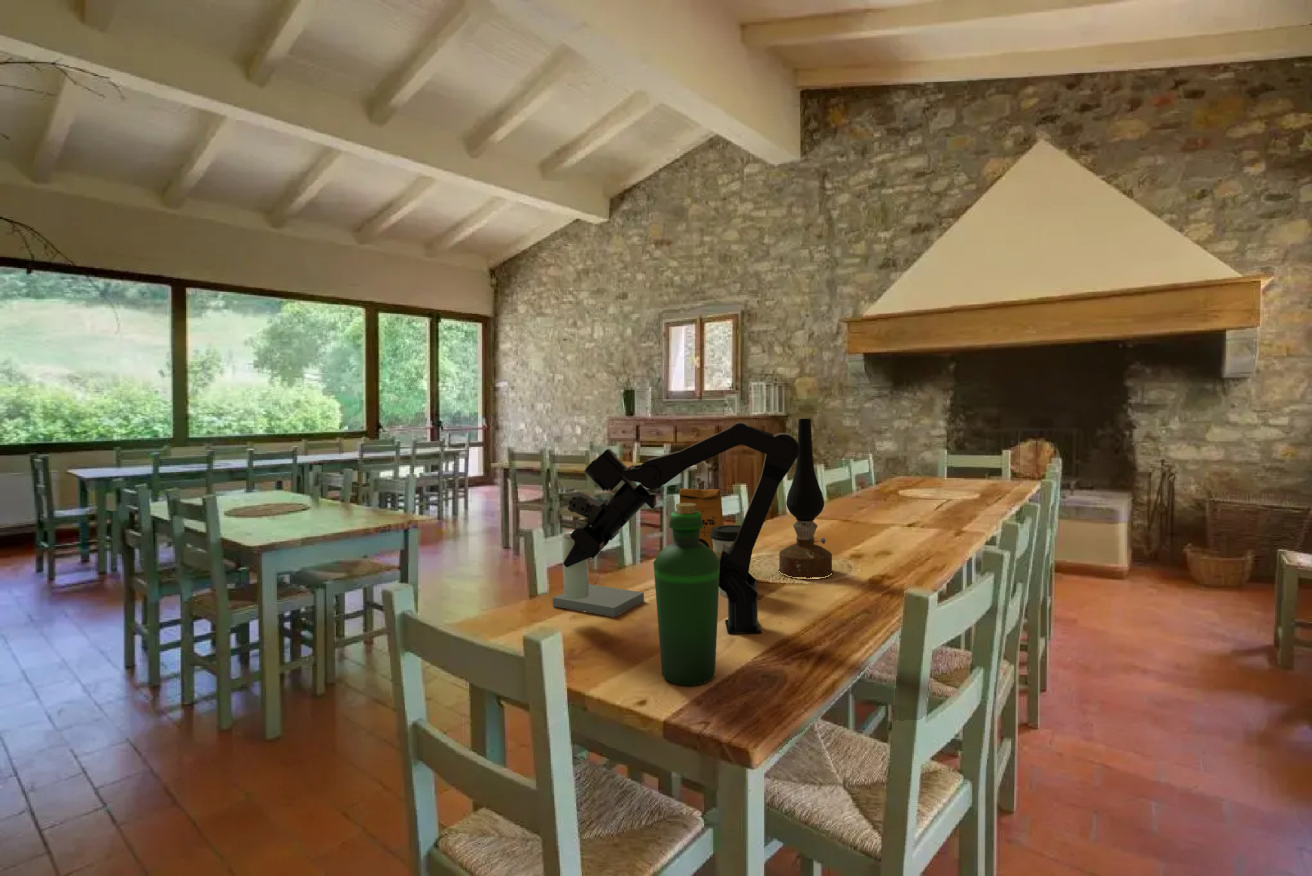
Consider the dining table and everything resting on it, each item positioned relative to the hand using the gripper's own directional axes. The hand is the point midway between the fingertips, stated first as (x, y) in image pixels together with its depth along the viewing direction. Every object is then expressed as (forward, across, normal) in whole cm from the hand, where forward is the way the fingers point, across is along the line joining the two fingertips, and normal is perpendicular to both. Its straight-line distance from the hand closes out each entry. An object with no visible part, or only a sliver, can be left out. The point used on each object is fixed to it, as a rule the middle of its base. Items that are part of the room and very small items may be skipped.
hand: (568, 562), depth 132 cm
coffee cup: (-13, -23, +32) cm, 41 cm away
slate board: (+7, -12, +11) cm, 18 cm away
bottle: (-10, +23, +28) cm, 37 cm away
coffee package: (-8, -39, +26) cm, 47 cm away
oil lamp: (-26, -42, +44) cm, 66 cm away
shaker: (+4, 0, +6) cm, 7 cm away
